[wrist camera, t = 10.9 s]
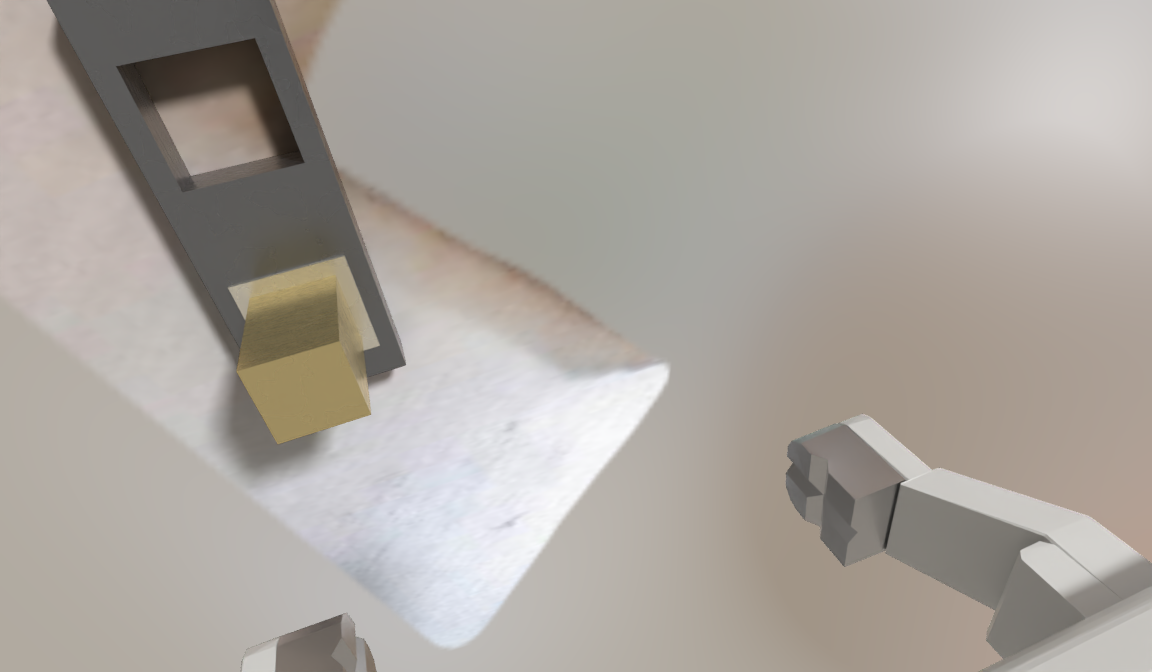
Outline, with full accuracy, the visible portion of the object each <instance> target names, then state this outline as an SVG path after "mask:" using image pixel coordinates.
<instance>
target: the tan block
mask: <svg viewBox="0 0 1152 672" xmlns="http://www.w3.org/2000/svg"><path fill="white" fill-rule="evenodd" d="M236 372H237V374H238V375H239V377H240V379H241V381H242V382H243V384H244V386H245V388H246V389H247V391H248V393H249V395H250V396H251V398H252V400H253V402H254V404H255V405H256V407H257V409H258V411H259V412H260V414H261V416H262V418H263V419H264V421H265V423H266V425H267V427H268V428H269V430H270V432H271V434H272V435H273V437H274V439H275V441H276V442H277V444H281V443H284V442H287V441H290V440H293V439H296V438H299V437H303V436H306V435H309V434H312V433H315V432H318V431H321V430H324V429H328V428H331V427H334V426H337V425H340V424H343V423H346V422H349V421H353V420H356V419H359V418H362V417H365V416H368V415H371V408H370V400H369V391H368V383H367V374H366V365H365V357H364V348H363V341H362V339H361V336H360V334H359V331H358V329H357V326H356V324H355V321H354V319H353V317H352V314H351V312H350V309H349V307H348V304H347V302H346V299H345V297H344V294H343V292H342V289H341V287H340V285H339V282H338V280H337V277H336V275H333V276H329V277H326V278H322V279H318V280H315V281H311V282H307V283H304V284H300V285H296V286H293V287H289V288H285V289H282V290H278V291H275V292H271V293H267V294H264V295H260V296H256V297H253V298H249V304H248V309H247V315H246V320H245V326H244V332H243V337H242V343H241V348H240V354H239V360H238V365H237V371H236Z"/></svg>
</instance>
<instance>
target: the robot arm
mask: <svg viewBox="0 0 1152 672" xmlns="http://www.w3.org/2000/svg"><path fill="white" fill-rule="evenodd" d="M787 457H788V458H789V459H790V460H791V461H792V462H793V464H792V465H791V466H790V468H789V469H788V471H787V472H786V488H787V490H788V494H789V496H790V500H791V501H792V503H793V504H794V506H795V508H796V510H797V511H798V512H799V513H800V515H801V516H802V517H803V519H804V520H805V521H808V522H810V523H813V524H815V525H818V526H820V538H821V540H822V541H823V542H824V544H825V545H826V546H827V547H828V548H829V549H830V551H831V552H832V553H833V554H834V555H835V556H836V558H837V559H838V560H839V561H840V563H841V564H842V565H843V566H844V567H846V566H848V565H851V564H853V563H856V562H858V561H861V560H863V559H866V558H868V557H871V556H873V555H876V554H878V553H881V552H883V551H886V552H885V553H886V554H888V555H890V556H892V557H894V558H895V559H897V560H899V561H901V562H903V563H905V564H907V565H909V566H911V567H913V568H914V569H916V570H918V571H920V572H922V573H924V574H926V575H928V576H930V577H932V578H934V579H936V580H938V581H940V582H941V583H944V584H945V585H947V586H949V587H951V588H953V589H955V590H957V591H959V592H961V593H963V594H965V595H967V596H968V597H970V598H972V599H974V600H976V601H978V602H980V603H982V604H984V605H986V606H988V607H990V608H992V609H993V610H995V613H994V615H993V618H992V620H991V623H990V625H989V627H988V630H987V638H986V641H987V642H988V643H989V644H990V645H991V646H992V647H993V648H994V649H995V651H996V652H998V654H999V655H1000V656H1001V657H1002V658H1003V660H1001V661H999V662H997V663H995V664H993V665H990V666H989V667H986V668H985V669H982V670H980V671H979V672H1152V563H1151V562H1150V561H1148V560H1147V559H1146V558H1144V557H1143V556H1142V555H1140V554H1139V553H1138V552H1136V551H1135V550H1134V549H1132V548H1131V547H1130V546H1128V545H1127V544H1126V543H1124V542H1123V541H1122V540H1120V539H1119V538H1118V537H1116V536H1115V535H1114V534H1112V533H1111V532H1110V531H1109V530H1107V529H1106V528H1104V527H1103V526H1102V525H1101V524H1099V523H1098V522H1097V521H1095V520H1094V519H1092V518H1091V517H1090V516H1087V515H1084V514H1081V513H1077V512H1075V511H1071V510H1068V509H1065V508H1062V507H1059V506H1056V505H1053V504H1050V503H1047V502H1044V501H1041V500H1037V499H1035V498H1031V497H1028V496H1025V495H1022V494H1019V493H1016V492H1013V491H1010V490H1007V489H1004V488H1001V487H998V486H994V485H991V484H988V483H985V482H982V481H979V480H976V479H973V478H970V477H966V476H964V475H961V474H957V473H954V472H951V471H948V470H945V469H942V468H936V469H934V470H931V469H930V468H929V467H928V466H927V465H926V464H924V463H923V462H922V461H921V460H920V459H919V458H917V457H916V456H915V455H914V454H913V453H912V452H911V451H909V450H908V449H907V448H906V447H905V446H903V445H902V444H901V443H900V442H899V441H898V440H897V439H895V438H894V437H893V436H892V435H891V434H890V433H888V432H887V431H886V430H885V429H884V428H882V427H881V426H880V425H879V424H878V423H877V422H876V421H874V420H873V419H872V418H871V417H869V416H867V415H864V414H861V415H858V416H855V417H853V418H850V419H848V420H845V421H843V422H840V423H838V424H833V425H830V426H828V427H826V428H823V429H820V430H818V431H816V432H813V433H810V434H808V435H805V436H803V437H801V438H798V439H795V440H793V441H791V443H790V444H789V446H788V452H787ZM241 672H376V667H375V663H374V659H373V656H372V654H371V651H370V649H369V647H368V645H367V644H366V641H365V640H364V639H362V638H359V637H355V624H354V622H353V621H352V619H351V618H350V616H349V615H348V613H345V614H342V615H339V616H336V617H334V618H331V619H328V620H325V621H322V622H319V623H317V624H314V625H311V626H308V627H305V628H303V629H300V630H297V631H294V632H291V633H288V634H286V635H283V636H280V637H277V638H275V639H272V640H269V641H267V642H264V643H261V644H259V645H256V646H254V647H251V648H248V649H247V650H246V652H245V655H244V657H243V660H242V664H241Z"/></svg>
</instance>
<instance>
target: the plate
mask: <svg viewBox="0 0 1152 672" xmlns="http://www.w3.org/2000/svg"><path fill="white" fill-rule="evenodd" d="M47 2H48V4H49V5H50V7H51V9H52V11H53V13H54V14H55V16H56V18H57V20H58V22H59V23H60V25H61V27H62V29H63V31H64V32H65V34H66V36H67V38H68V40H69V41H70V43H71V45H72V47H73V49H74V51H75V52H76V54H77V56H78V58H79V60H80V61H81V63H82V65H83V67H84V69H85V70H86V72H87V74H88V76H89V78H90V79H91V81H92V83H93V85H94V87H95V88H96V90H97V92H98V94H99V96H100V97H101V99H102V101H103V103H104V105H105V106H106V108H107V110H108V112H109V114H110V115H111V117H112V119H113V121H114V123H115V124H116V126H117V128H118V130H119V132H120V133H121V135H122V137H123V139H124V141H125V143H126V144H127V146H128V148H129V150H130V152H131V153H132V155H133V157H134V159H135V161H136V162H137V164H138V166H139V168H140V170H141V171H142V173H143V175H144V177H145V179H146V180H147V182H148V184H149V186H150V188H151V189H152V191H153V193H154V195H155V197H156V198H157V200H158V202H159V204H160V206H161V207H162V209H163V211H164V213H165V215H166V216H167V218H168V220H169V222H170V224H171V225H172V227H173V229H174V231H175V233H176V234H177V236H178V238H179V240H180V242H181V244H182V245H183V247H184V249H185V251H186V253H187V254H188V256H189V258H190V260H191V262H192V263H193V265H194V267H195V269H196V271H197V272H198V274H199V276H200V278H201V280H202V281H203V283H204V285H205V287H206V289H207V290H208V292H209V294H210V296H211V298H212V299H213V301H214V303H215V305H216V307H217V308H218V310H219V312H220V314H221V316H222V317H223V319H224V321H225V323H226V325H227V326H228V328H229V330H230V332H231V334H232V335H233V337H234V339H235V341H236V343H237V345H238V346H239V348H241V343H242V337H243V332H244V326H245V320H246V315H247V309H248V304H249V298H253V297H256V296H260V295H264V294H267V293H271V292H275V291H278V290H282V289H285V288H289V287H293V286H296V285H300V284H304V283H307V282H311V281H315V280H318V279H322V278H326V277H329V276H333V275H336V277H337V280H338V282H339V285H340V287H341V289H342V292H343V294H344V297H345V299H346V302H347V304H348V307H349V309H350V312H351V314H352V317H353V319H354V321H355V324H356V326H357V329H358V331H359V334H360V336H361V339H362V341H363V348H364V357H365V365H366V374H367V377H370V376H373V375H376V374H379V373H383V372H386V371H389V370H392V369H395V368H399V367H402V366H405V365H406V362H405V357H404V353H403V348H402V343H401V341H400V338H399V335H398V333H397V330H396V327H395V325H394V322H393V319H392V316H391V314H390V311H389V308H388V306H387V303H386V300H385V298H384V295H383V292H382V289H381V287H380V284H379V281H378V279H377V276H376V273H375V271H374V268H373V265H372V262H371V260H370V257H369V254H368V252H367V249H366V246H365V244H364V241H363V238H362V235H361V233H360V230H359V227H358V225H357V222H356V219H355V217H354V214H353V211H352V208H351V206H350V203H349V200H348V198H347V195H346V192H345V190H344V187H343V184H342V181H341V179H340V176H339V173H338V171H337V168H336V165H335V163H334V160H333V157H332V154H331V152H330V149H329V146H328V144H327V141H326V138H325V136H324V133H323V130H322V127H321V125H320V122H319V119H318V117H317V114H316V111H315V109H314V106H313V103H312V100H311V98H310V95H309V92H308V90H307V87H306V84H305V82H304V79H303V76H302V73H301V71H300V68H299V65H298V63H297V60H296V57H295V54H294V52H293V49H292V46H291V44H290V41H289V38H288V36H287V33H286V30H285V27H284V25H283V22H282V19H281V17H280V14H279V11H278V9H277V6H276V3H275V0H47ZM253 38H255V39H256V42H257V44H258V47H259V49H260V52H261V54H262V57H263V59H264V62H265V64H266V67H267V69H268V72H269V74H270V77H271V79H272V82H273V84H274V87H275V89H276V92H277V95H278V97H279V100H280V102H281V105H282V107H283V110H284V112H285V115H286V117H287V120H288V122H289V125H290V127H291V130H292V132H293V135H294V137H295V140H296V142H297V145H298V147H299V150H300V151H295V152H291V153H287V154H283V155H279V156H274V157H270V158H266V159H262V160H258V161H253V162H249V163H245V164H241V165H237V166H232V167H228V168H224V169H220V170H216V171H211V172H207V173H203V174H199V175H195V176H190V174H189V172H188V170H187V168H186V166H185V164H184V162H183V160H182V158H181V156H180V155H179V153H178V151H177V149H176V147H175V145H174V143H173V141H172V139H171V137H170V135H169V133H168V131H167V129H166V127H165V125H164V123H163V121H162V119H161V117H160V115H159V113H158V111H157V109H156V108H155V106H154V104H153V102H152V100H151V98H150V96H149V94H148V92H147V90H146V88H145V86H144V84H143V82H142V80H141V78H140V76H139V74H138V72H137V70H136V68H135V66H134V64H133V63H135V62H139V61H144V60H149V59H154V58H159V57H164V56H169V55H174V54H179V53H184V52H189V51H194V50H199V49H204V48H209V47H214V46H219V45H224V44H229V43H234V42H239V41H244V40H248V39H253Z"/></svg>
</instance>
